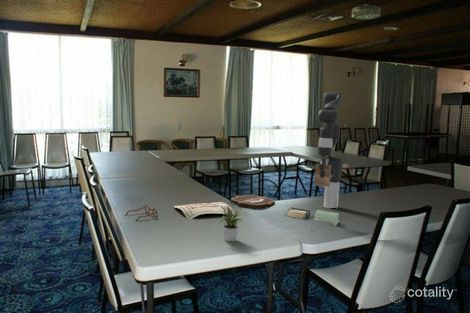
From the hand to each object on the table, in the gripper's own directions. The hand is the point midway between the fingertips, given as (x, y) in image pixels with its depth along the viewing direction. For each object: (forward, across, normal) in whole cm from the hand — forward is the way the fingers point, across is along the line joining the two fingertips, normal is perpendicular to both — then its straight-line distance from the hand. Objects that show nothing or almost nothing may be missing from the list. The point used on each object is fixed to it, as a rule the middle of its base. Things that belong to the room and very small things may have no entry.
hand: (322, 177), depth 210 cm
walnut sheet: (+5, 0, 0) cm, 5 cm away
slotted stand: (+25, 0, +4) cm, 25 cm away
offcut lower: (+24, +5, -12) cm, 27 cm away
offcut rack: (+25, +2, -12) cm, 28 cm away
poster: (+26, +24, -61) cm, 71 cm away
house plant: (+25, +60, -27) cm, 70 cm away
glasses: (+26, +55, -82) cm, 102 cm away
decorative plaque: (+26, -13, -47) cm, 55 cm away
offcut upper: (+22, +5, -11) cm, 25 cm away
